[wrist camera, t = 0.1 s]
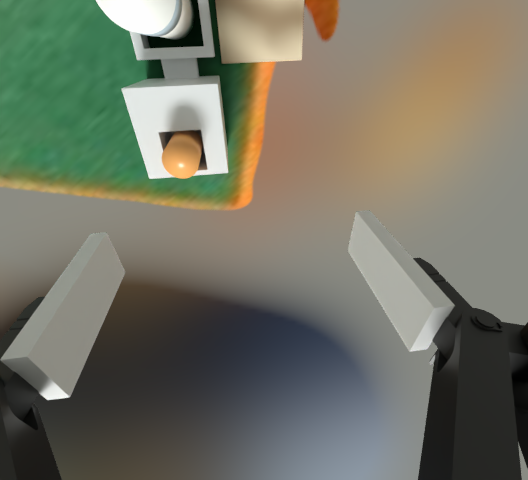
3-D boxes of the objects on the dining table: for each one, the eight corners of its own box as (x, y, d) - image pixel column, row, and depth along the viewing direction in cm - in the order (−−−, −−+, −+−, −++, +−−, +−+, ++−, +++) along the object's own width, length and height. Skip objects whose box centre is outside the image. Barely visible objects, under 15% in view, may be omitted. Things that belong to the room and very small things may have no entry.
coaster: (209, -56, 26) (209, -57, 26) (305, -56, 27) (306, -58, 27) (222, 63, 32) (221, 63, 32) (300, 60, 33) (301, 60, 33)
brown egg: (168, 129, 30) (157, 144, 25) (200, 127, 30) (195, 141, 25) (175, 160, 32) (166, 179, 27) (205, 157, 32) (201, 177, 27)
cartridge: (140, -20, 27) (67, -81, 15) (189, -21, 28) (160, -81, 15) (154, 40, 30) (103, 35, 18) (198, 39, 31) (180, 32, 18)
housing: (115, -44, 26) (67, -84, 18) (205, -45, 27) (197, -84, 19) (165, 151, 38) (149, 178, 30) (227, 147, 38) (228, 172, 30)
